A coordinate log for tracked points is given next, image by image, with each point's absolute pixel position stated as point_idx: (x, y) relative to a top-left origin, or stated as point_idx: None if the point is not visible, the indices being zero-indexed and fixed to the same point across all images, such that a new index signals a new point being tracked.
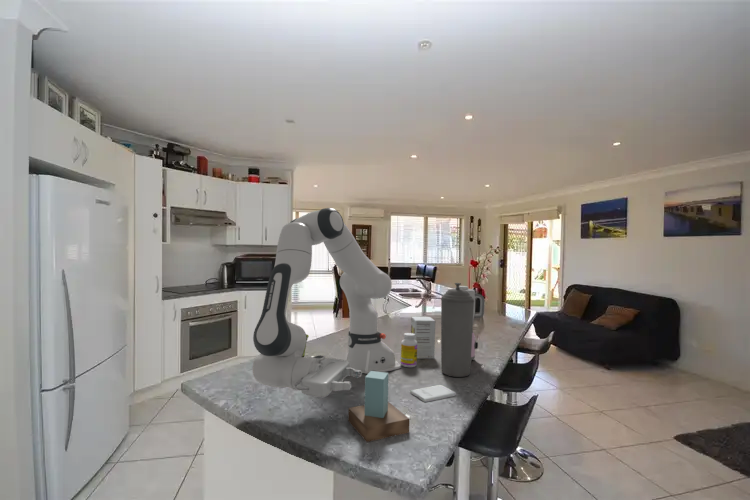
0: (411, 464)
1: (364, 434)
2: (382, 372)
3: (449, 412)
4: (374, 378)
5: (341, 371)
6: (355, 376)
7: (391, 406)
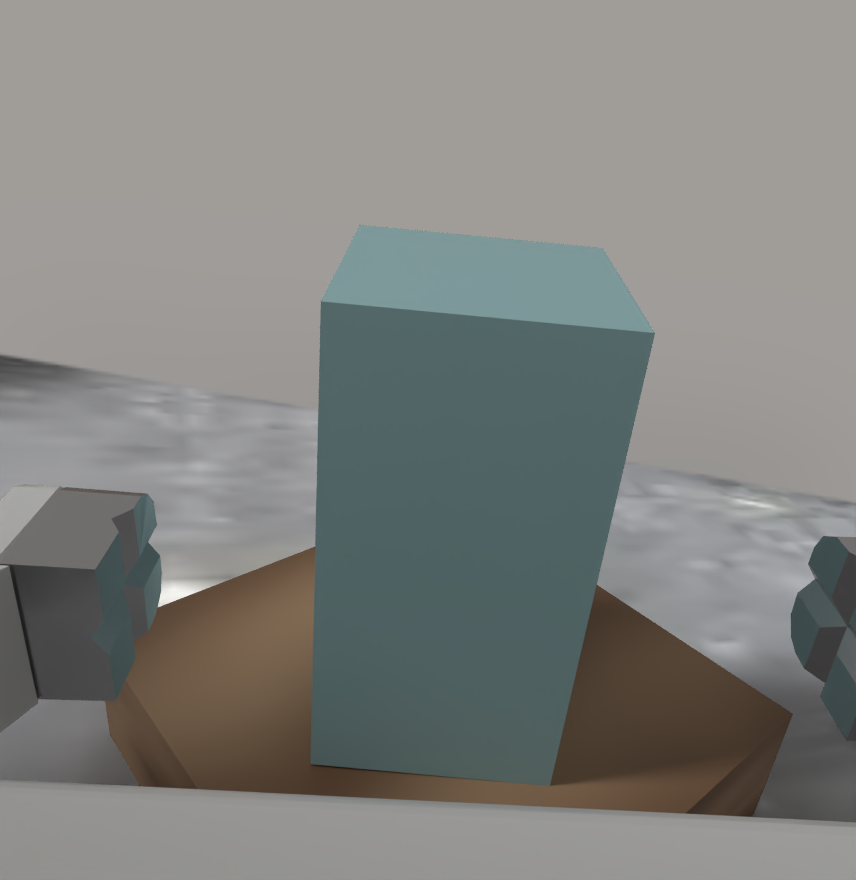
0: (799, 556)
1: (735, 811)
2: (357, 246)
3: (112, 428)
4: (621, 288)
5: (311, 815)
6: (125, 647)
7: (245, 592)
